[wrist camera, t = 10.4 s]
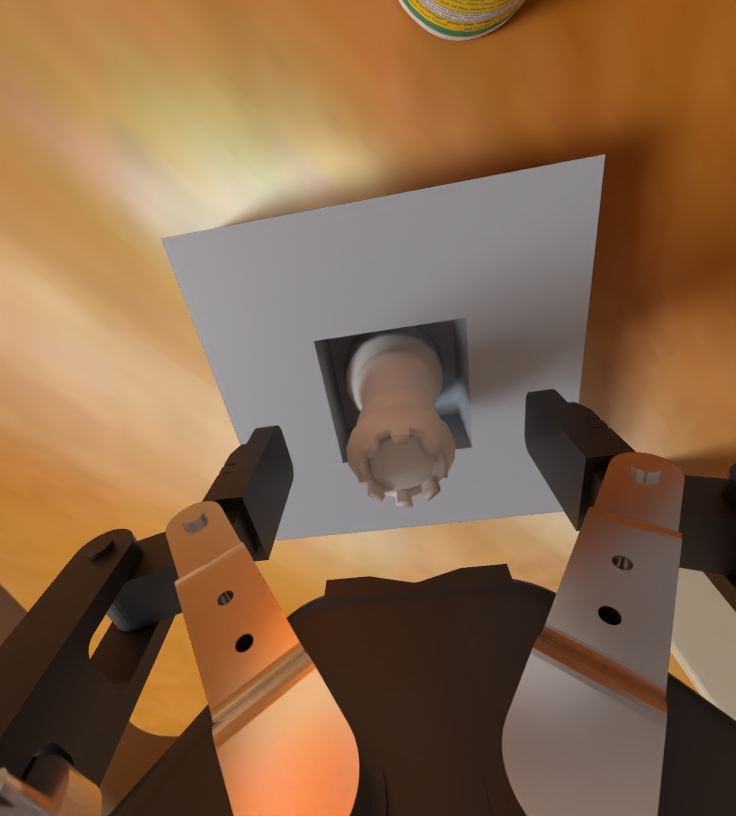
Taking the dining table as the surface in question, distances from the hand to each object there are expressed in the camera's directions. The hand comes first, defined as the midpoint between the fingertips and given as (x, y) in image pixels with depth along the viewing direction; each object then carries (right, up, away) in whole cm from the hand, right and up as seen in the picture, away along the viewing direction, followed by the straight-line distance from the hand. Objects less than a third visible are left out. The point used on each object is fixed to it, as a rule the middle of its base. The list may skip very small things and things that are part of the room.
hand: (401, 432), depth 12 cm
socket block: (0, +3, +6) cm, 7 cm away
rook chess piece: (0, +3, +5) cm, 6 cm away
